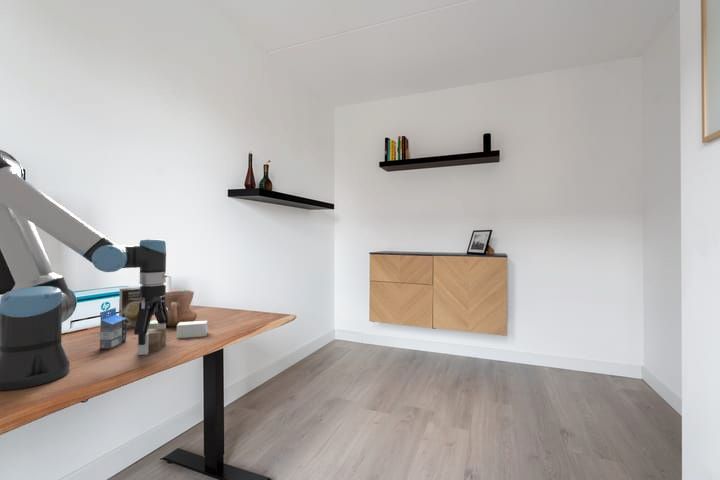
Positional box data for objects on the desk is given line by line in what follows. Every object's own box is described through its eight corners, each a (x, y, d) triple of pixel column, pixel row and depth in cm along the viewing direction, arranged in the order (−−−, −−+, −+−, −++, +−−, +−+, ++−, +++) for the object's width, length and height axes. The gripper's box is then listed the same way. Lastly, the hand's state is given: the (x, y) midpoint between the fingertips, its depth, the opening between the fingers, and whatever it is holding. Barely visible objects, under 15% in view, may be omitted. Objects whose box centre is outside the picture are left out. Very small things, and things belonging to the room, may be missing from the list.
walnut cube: (158, 351, 110) (158, 333, 110) (138, 352, 109) (138, 333, 109) (165, 345, 116) (165, 328, 116) (146, 346, 115) (147, 329, 115)
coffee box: (121, 329, 137) (121, 290, 137) (118, 326, 141) (118, 288, 141) (147, 325, 143) (147, 288, 143) (143, 322, 148) (143, 286, 148)
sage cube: (163, 338, 124) (163, 322, 124) (144, 340, 121) (144, 324, 121) (165, 334, 129) (165, 319, 129) (146, 336, 127) (147, 320, 127)
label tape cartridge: (111, 349, 111) (112, 312, 112) (99, 349, 111) (99, 312, 111) (126, 341, 120) (127, 307, 120) (115, 341, 120) (115, 307, 120)
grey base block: (205, 336, 127) (205, 323, 127) (176, 338, 124) (176, 325, 124) (207, 333, 132) (207, 320, 132) (179, 335, 129) (179, 322, 129)
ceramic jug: (166, 320, 152) (165, 289, 152) (200, 318, 156) (200, 288, 155) (152, 331, 135) (151, 296, 134) (191, 329, 138) (190, 295, 138)
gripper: (147, 289, 101) (147, 359, 101) (178, 280, 125) (178, 337, 125) (120, 290, 99) (120, 361, 99) (157, 280, 124) (156, 337, 124)
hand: (152, 347), depth 112 cm, fingers open, 12 cm apart
